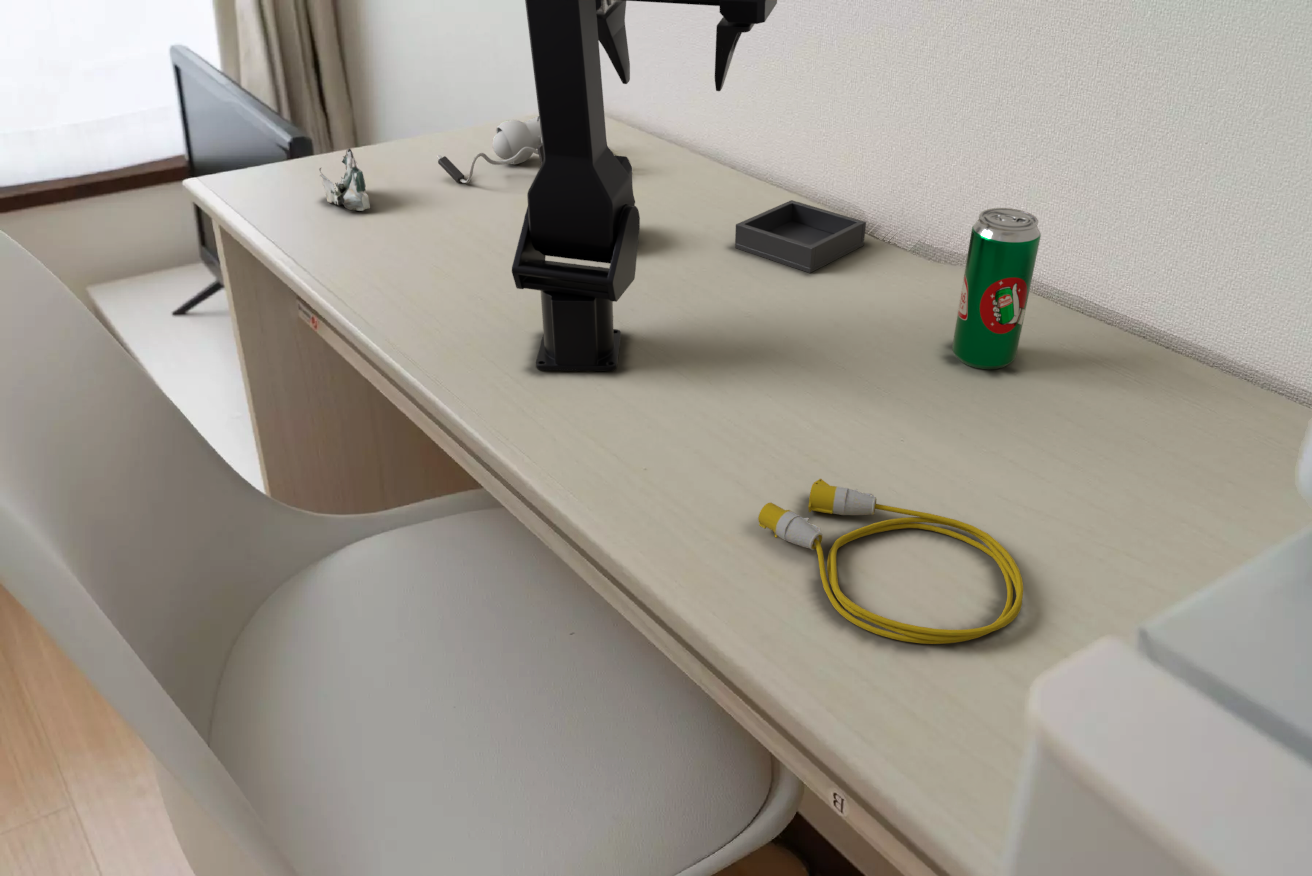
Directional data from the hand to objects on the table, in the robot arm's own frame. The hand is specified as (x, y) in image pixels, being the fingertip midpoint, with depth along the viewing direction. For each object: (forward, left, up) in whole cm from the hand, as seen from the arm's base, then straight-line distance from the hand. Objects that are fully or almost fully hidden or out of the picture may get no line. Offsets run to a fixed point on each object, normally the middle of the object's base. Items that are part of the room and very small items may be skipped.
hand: (672, 86), depth 101 cm
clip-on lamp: (+19, +18, -15) cm, 31 cm away
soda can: (-26, -26, -15) cm, 39 cm away
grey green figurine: (+8, +36, -15) cm, 40 cm away
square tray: (-3, -13, -15) cm, 20 cm away
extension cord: (-52, -15, -15) cm, 56 cm away
